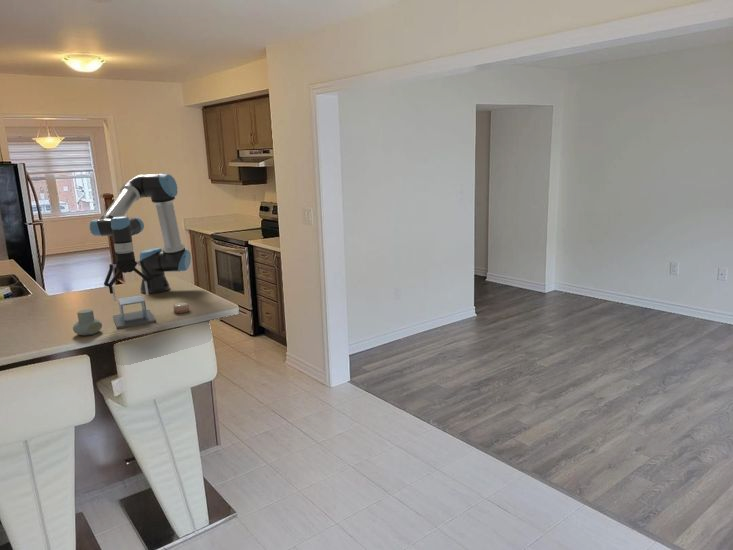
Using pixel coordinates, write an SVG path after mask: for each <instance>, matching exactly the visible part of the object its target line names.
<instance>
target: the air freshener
mask: <svg viewBox="0 0 733 550" xmlns="http://www.w3.org/2000/svg"><path fill="white" fill-rule="evenodd" d="M94 315H95V314H94V310H92V309H89V308H88V309H82V310H79V311H77V320H78V321H77V322H75V324H73V327H72V330H73V333H74V334H75V335H76V334H77V335H79V336H93V335H96V334H97V333H98V332H99V331H100V330H101V329H102V328H103V324H102V322H101V321H100V320H99V319H97V318H95V316H94Z"/></svg>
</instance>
